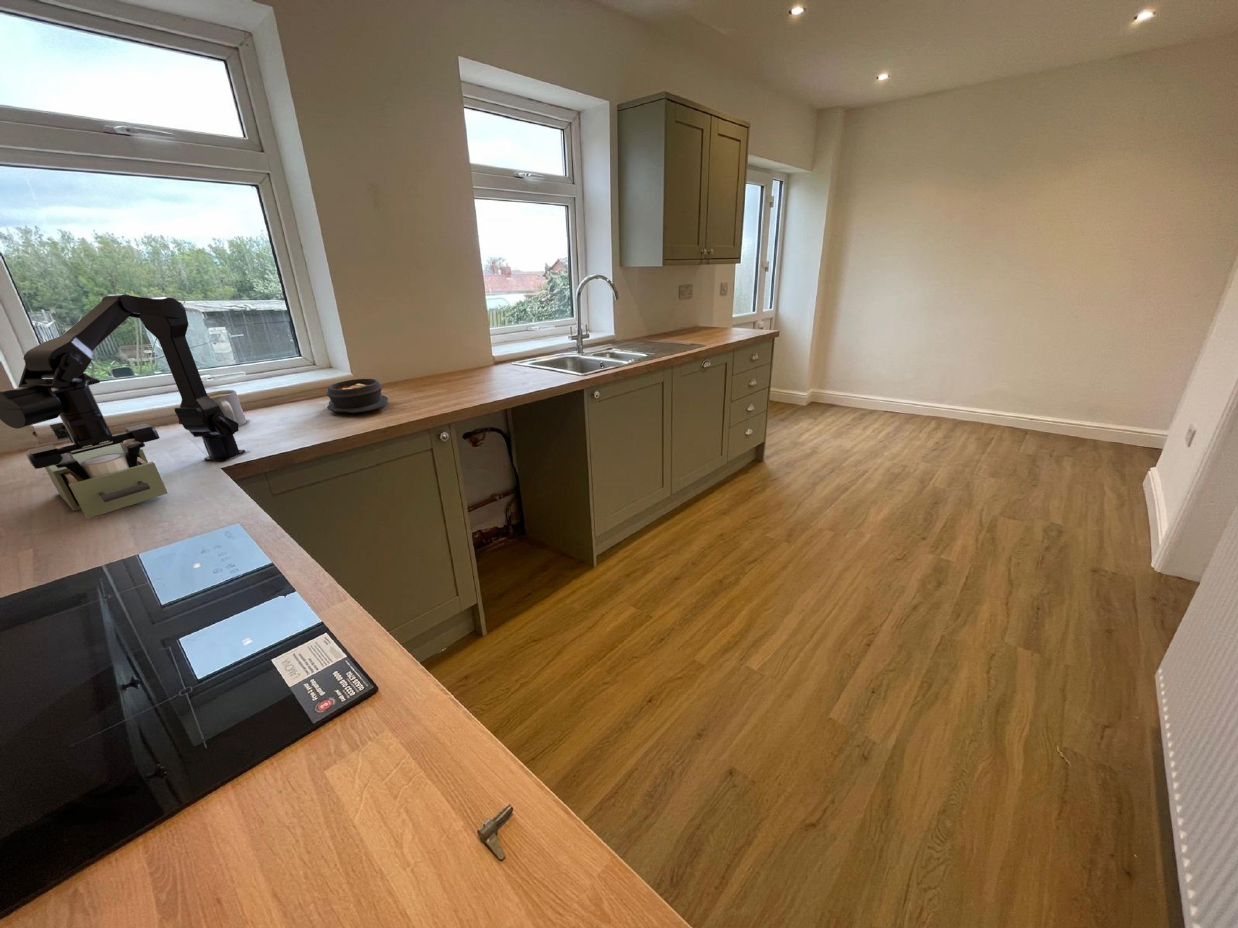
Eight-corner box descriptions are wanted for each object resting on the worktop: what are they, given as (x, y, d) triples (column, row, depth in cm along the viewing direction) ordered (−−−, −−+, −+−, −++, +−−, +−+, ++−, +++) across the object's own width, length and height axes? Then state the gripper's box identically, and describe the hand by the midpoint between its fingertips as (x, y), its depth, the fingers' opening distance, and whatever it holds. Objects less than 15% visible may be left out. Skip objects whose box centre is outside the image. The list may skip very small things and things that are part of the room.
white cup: (121, 495, 103) (105, 463, 100) (86, 497, 103) (69, 466, 100) (147, 480, 109) (133, 451, 106) (114, 483, 109) (99, 453, 106)
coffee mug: (207, 425, 158) (195, 394, 154) (245, 418, 163) (234, 388, 160) (209, 435, 148) (196, 402, 144) (249, 427, 154) (237, 395, 150)
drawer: (175, 498, 106) (161, 467, 103) (92, 524, 97) (74, 491, 94) (148, 479, 117) (134, 450, 114) (71, 501, 107) (54, 470, 104)
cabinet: (158, 485, 115) (142, 449, 112) (74, 511, 105) (52, 471, 101) (139, 471, 124) (123, 437, 120) (59, 494, 113) (39, 457, 110)
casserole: (403, 407, 166) (398, 383, 163) (345, 422, 154) (338, 396, 151) (371, 396, 182) (366, 373, 179) (316, 408, 170) (309, 384, 166)
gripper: (129, 394, 110) (158, 459, 117) (3, 418, 97) (44, 491, 103) (144, 401, 104) (174, 469, 111) (12, 427, 91) (55, 504, 97)
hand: (114, 482), depth 105 cm, fingers closed on white cup, 6 cm apart
